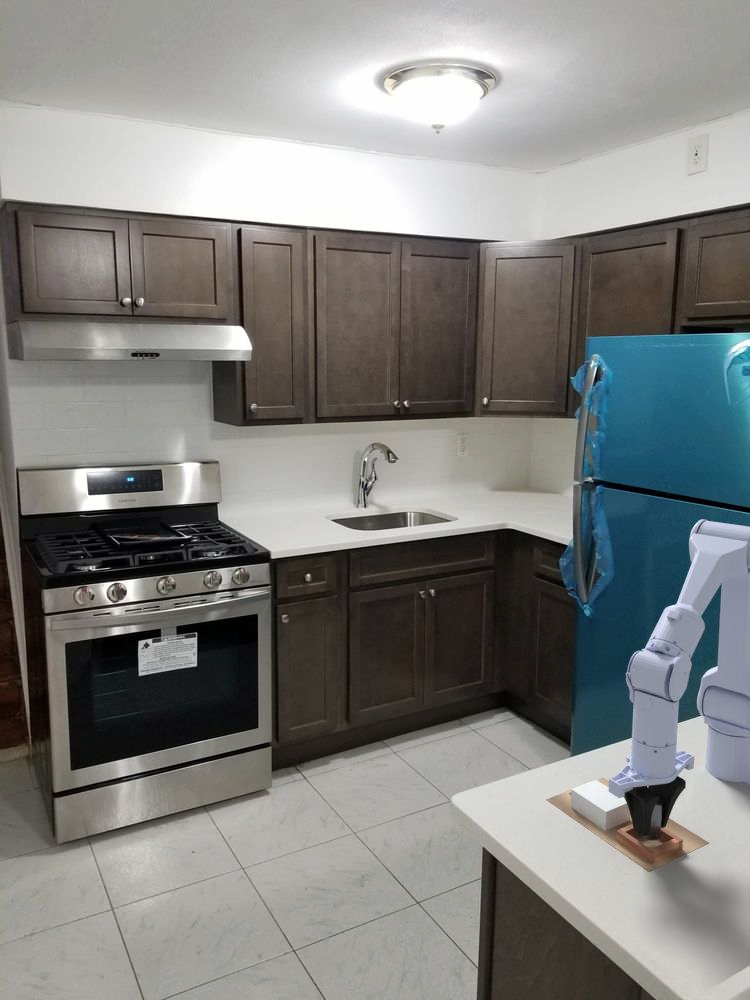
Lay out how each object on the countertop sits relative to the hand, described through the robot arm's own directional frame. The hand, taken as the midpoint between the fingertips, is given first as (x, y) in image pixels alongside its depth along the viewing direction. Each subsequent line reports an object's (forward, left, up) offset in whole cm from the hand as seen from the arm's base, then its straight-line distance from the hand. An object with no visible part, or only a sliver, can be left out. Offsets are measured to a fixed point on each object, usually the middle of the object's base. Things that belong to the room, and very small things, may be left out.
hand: (649, 827), depth 110 cm
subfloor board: (-1, -6, -4) cm, 7 cm away
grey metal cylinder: (0, 0, -1) cm, 1 cm away
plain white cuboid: (0, -9, -3) cm, 9 cm away
